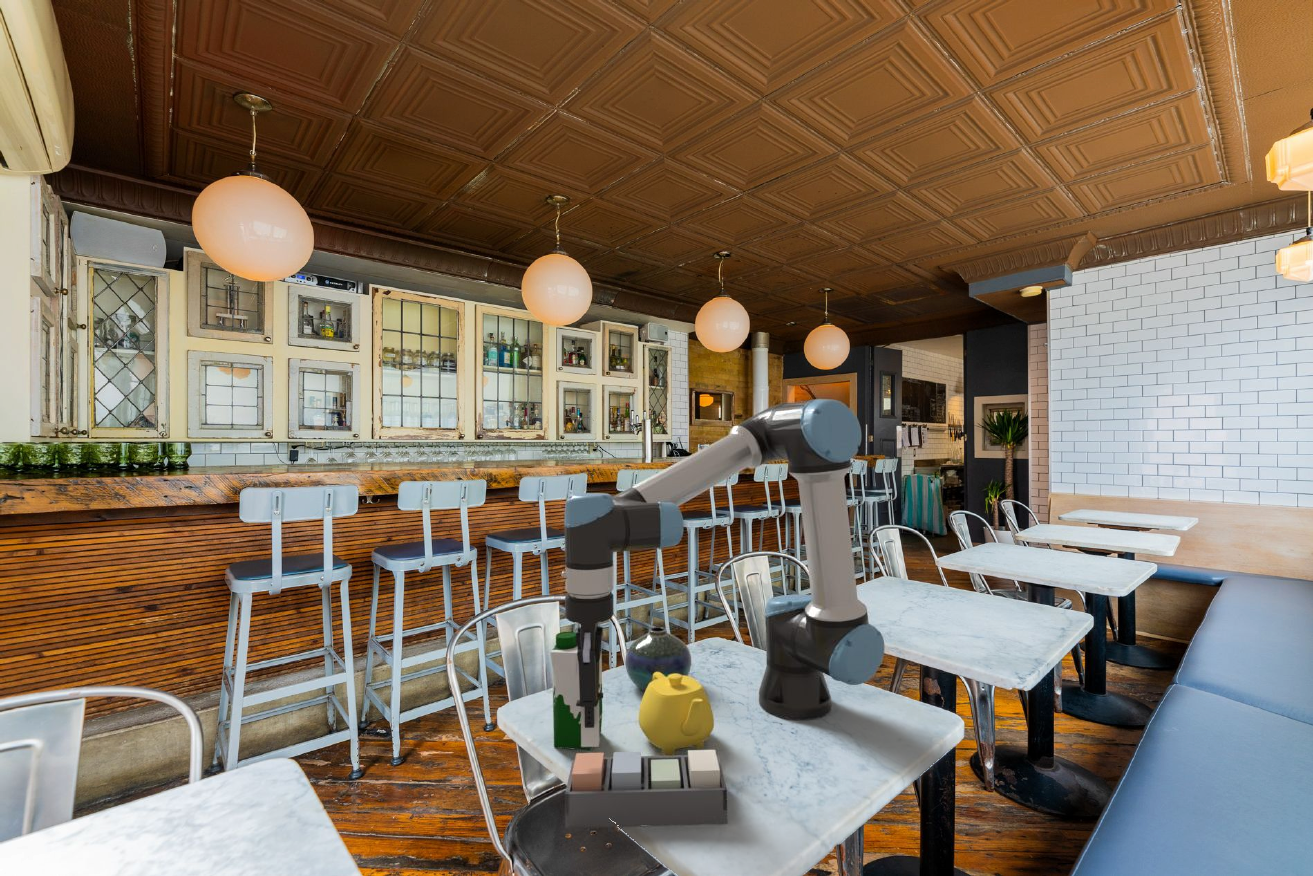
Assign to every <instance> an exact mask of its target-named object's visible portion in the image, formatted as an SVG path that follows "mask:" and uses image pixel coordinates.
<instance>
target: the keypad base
mask: <svg viewBox="0 0 1313 876" xmlns="http://www.w3.org/2000/svg"><path fill="white" fill-rule="evenodd" d="M716 756H717V760H718V765H719V769H720V788H691V786H690V779H689V771H688V754H680V755H675V754H674V755H671V756H666V755H641V790H613V791H612V765H613V756H606V757H605V756H604V776H603V784H602V791H576V792H572V772H573V767H574V762H575V758H576V757H573V758H572V762H571V765H570V770H569V774H568V778H567V779H568V780H567V783H566V787H565V793H564V815H565V816H564V818H565V819H564V820H565V822H564V824H565V829H582V828H583V829H584V828H586V829H588V828H592V829H593V828H620V827H621V828H622V827H642V826H641V825H651V826H650V827H654V826H655V827H657V826H660V827H662V826H690V825H691V826H693V825H722V824H723V825H725V824H728V820H729V819H728V788H727V784H726V780H725V776H724V771H723V767H722V763H721V759H720V755H719V753H718V754H717V753H716ZM662 759H678V762H679V771H680V782H681V789H651V760H662ZM609 818H610V819H611V820H612V821H614V822H616V824H615V823H614V822H612V821H611V820H610V819H609ZM617 825H619V826H617Z"/></svg>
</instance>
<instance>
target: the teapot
mask: <svg viewBox="0 0 1313 876" xmlns="http://www.w3.org/2000/svg"><path fill="white" fill-rule="evenodd" d="M638 724H639V728H640V729H641V731H642V733H643V734H644V735H645V737H646V739H647V740H648V741H649V742H650V743H651V744H652V745H654V746H655V747H657V748H660V749H662V750H661V754H662V756H672V755H675V754H676V749H682V748H688V747H692V748H695V749H702V748H704V747H705V743H704V741H706V740H707V739H708V738H709V737H710V735H711V734H712V732H713V730H714V726H715V719H714V714H713V710H712V706H711V703H710V699H709V698H708V696H707V693H706V691H705V689H704V687H703V685H702V684H701V683H700V682H698V681H697V680H696V679H695V678H693V677H691V676H689V675H688V676H685V675H680V674H670V675H668V677H665V676H664V675H663V674H662V673H660V672H655V673H654V674H653V681H652V682H650V683H649V685H648V687H647V689H646V690H644V693H643V696H642V698H641V701H640V705H639V710H638Z"/></svg>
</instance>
